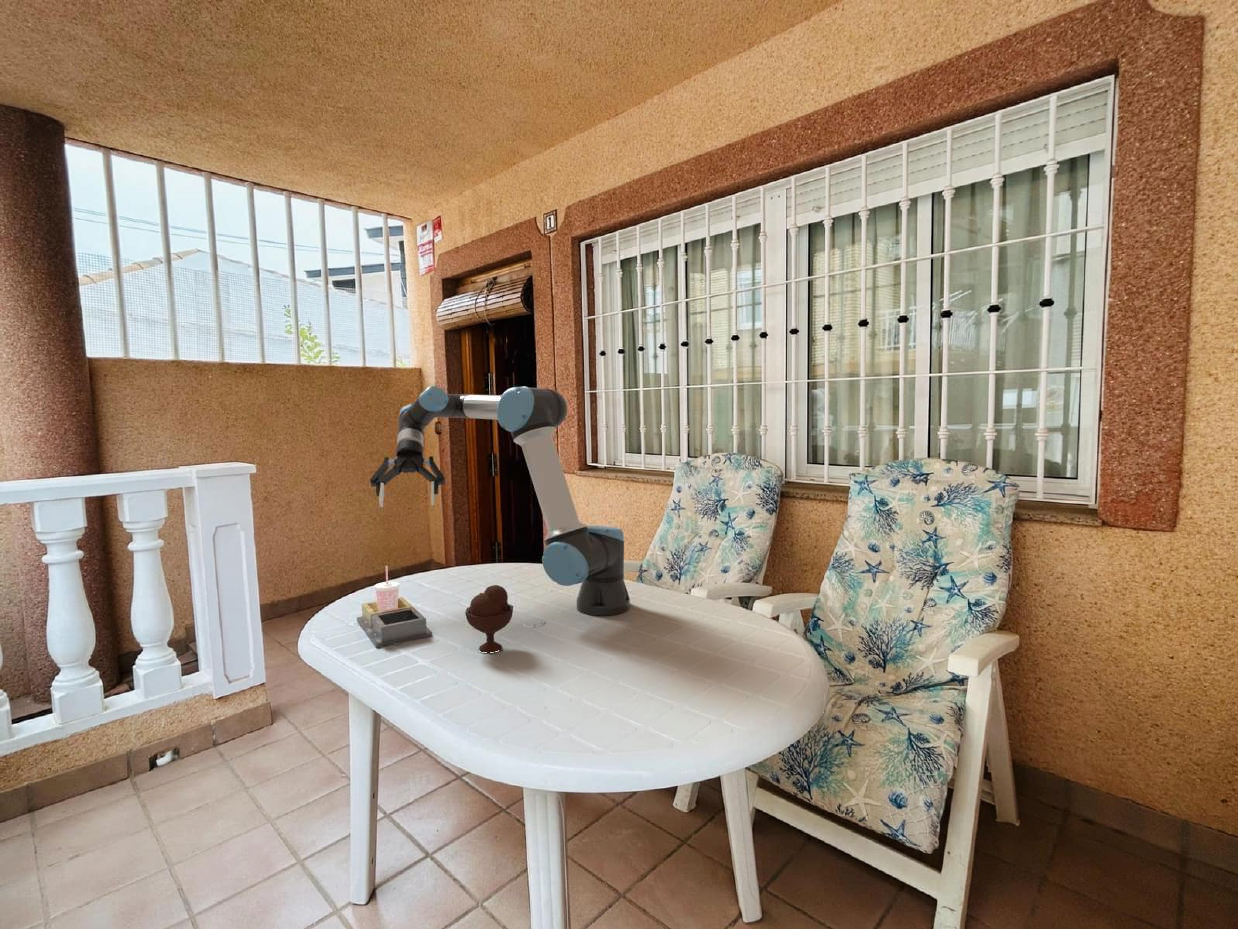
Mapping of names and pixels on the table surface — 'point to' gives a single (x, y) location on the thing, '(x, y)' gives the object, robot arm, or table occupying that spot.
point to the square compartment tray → (392, 623)
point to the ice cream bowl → (490, 615)
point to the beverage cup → (387, 594)
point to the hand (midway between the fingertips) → (406, 503)
